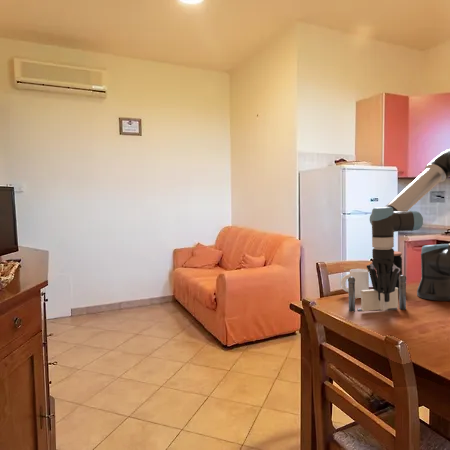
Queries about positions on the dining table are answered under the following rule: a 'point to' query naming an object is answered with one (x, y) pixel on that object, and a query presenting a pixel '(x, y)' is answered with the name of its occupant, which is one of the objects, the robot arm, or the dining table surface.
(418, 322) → the dining table surface
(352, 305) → the posts and sill
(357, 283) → the mug
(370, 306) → the gate
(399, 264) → the coffee jar
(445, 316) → the dining table surface
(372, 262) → the robot arm
